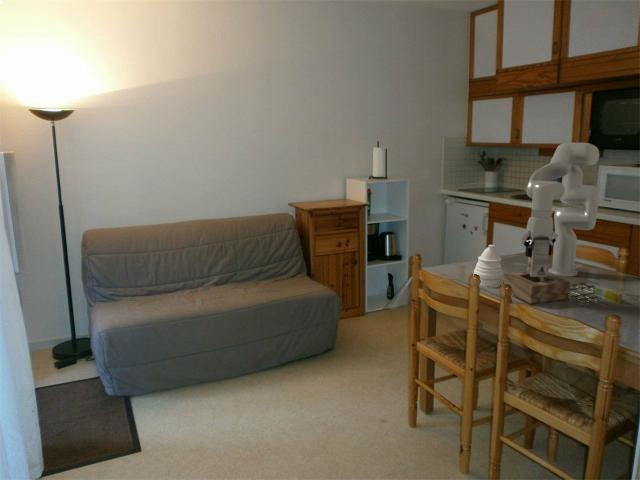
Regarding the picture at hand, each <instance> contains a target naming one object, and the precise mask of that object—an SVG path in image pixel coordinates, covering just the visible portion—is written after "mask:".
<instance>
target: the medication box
mask: <svg viewBox="0 0 640 480" xmlns="http://www.w3.org/2000/svg"><path fill="white" fill-rule="evenodd" d="M593 295H594V296H596V297H599V298H602V299H603V300H606V301H608V302H609V301H610V302H611V303H614V304H622V299H623V294H622V293H621V292H617V291H614V290H613V289H609V288H606V287H603V286H601V285H595V286H593Z"/></svg>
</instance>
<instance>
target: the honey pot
mask: <svg viewBox="0 0 640 480" xmlns="http://www.w3.org/2000/svg"><path fill="white" fill-rule="evenodd" d="M495 246H496V245H494V244H488V247H486V248H485V249H484V250H483V252H482V253H481V255H479V256H478V261H477V263H476V264H475V265H476V266H474V267H475V268H474V270H473V275H474V274H477V275H479V276H480V280H481V283H480V285H481V286H480V287H482V286H491V287H490V288H494V287H493V286H499V285H501V284H503V285H504V271H503V268H502V265H501V261H502V260H503V259H502V257H500V256H498V253H497V252H496V250H495Z"/></svg>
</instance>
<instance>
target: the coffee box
mask: <svg viewBox="0 0 640 480" xmlns="http://www.w3.org/2000/svg"><path fill="white" fill-rule="evenodd" d="M529 244H530V243H529ZM549 245H550V239H549V238H548V237H541V238H533V244H532V247H531V248H532V257H527V268H526V270H527V271H528V272H529V274H530V276H531V277H547V273H548V267H549V266H548V264H549ZM527 271H526V272H527Z"/></svg>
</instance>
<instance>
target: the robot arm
mask: <svg viewBox="0 0 640 480" xmlns="http://www.w3.org/2000/svg"><path fill="white" fill-rule="evenodd" d="M599 159H600V151H599V148H598V147H597V146H595V145H594V144H592V143H589V142H564V143H561V144H559V145H558V146H557V148H556V150H555V151H554V153H553V156H552V158H551V160H550V162H549V163H548V164H546V165H544V166H542V167H540V168H538V169H537V170H535V171H534V172H533V173H532V174H531V177H530V178H529V181H528V182H527V186H526V189H525V190H526V195H527V197H529V198H531V199H532V201H531V211H530V212H531V213H530V214H531V215H530V216H529V218H528V220H527V224H526V229H525V230H526V231H525V234H523V235H522V236H521V237H520V240H521V243H522V244H523V245H524V247H525V251H524V254H525V255H524V256H525V257H527V258H528V257H532V248H531V247H532V244H533V238H541V237H548V238H549V239H550V245H549V256H552V263H551V264H552V266H551V267H550V268H547V273H549V274H552V275H554V276H557V277H566V278H567V277H568V278H569V277H576V276H577V275H578V271H577V269H579V270H580V269H583V267H584V266H583V265H582V264H580V263H579V264H576V262H575V261H576V254H577V253H576V252H577V244H578V243H577V241H578V239H577V234H576V233H575V232H574V230H579V231H580V230H583V231H591V230H593V229H594V228H595V226H596V222H597V215H598V207H599V200H600V193H599V189H598V187H596V186H595V185H591V184H589V185H588V184H583V179H584V173H583V171H582V169H581V167H580V166H594V165H596V164H597V163H598V161H599ZM560 178H562V179H561V182H560V181H555V180H556V179H560ZM553 180H554V181H553ZM558 200H560V202H561V203H562V204H565V205H568V206H569V205H570V206H579V207H580V206H581V207H585V208H577V207H560V208H557V209H556V210H555V212H554V210H553V201H558ZM552 214H554V216H553V217H552ZM553 219H554V221H553ZM529 243H530V244H529ZM552 247H553V250H552ZM552 251H553V252H552ZM552 253H553V254H552ZM549 256H548V257H549Z"/></svg>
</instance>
